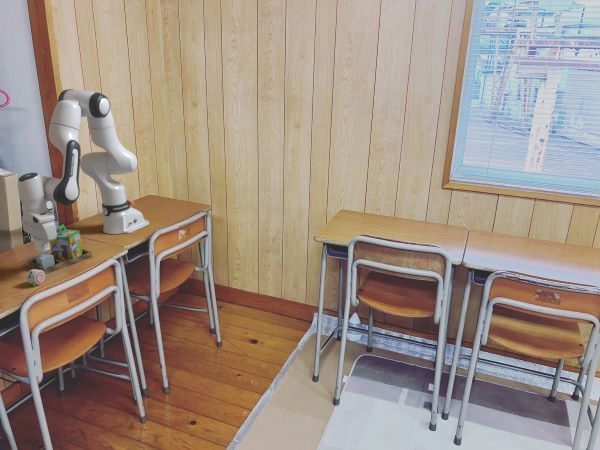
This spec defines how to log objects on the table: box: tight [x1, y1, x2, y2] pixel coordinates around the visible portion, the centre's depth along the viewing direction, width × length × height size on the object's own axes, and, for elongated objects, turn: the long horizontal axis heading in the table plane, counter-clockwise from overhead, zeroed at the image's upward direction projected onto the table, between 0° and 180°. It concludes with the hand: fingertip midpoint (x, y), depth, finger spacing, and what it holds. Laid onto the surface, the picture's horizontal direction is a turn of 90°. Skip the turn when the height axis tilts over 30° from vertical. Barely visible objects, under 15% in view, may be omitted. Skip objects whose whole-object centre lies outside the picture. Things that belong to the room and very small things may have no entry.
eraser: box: [32, 237, 51, 253], centre depth 203 cm, size 4×4×5 cm
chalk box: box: [49, 224, 84, 262], centre depth 211 cm, size 9×9×15 cm
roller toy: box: [26, 268, 46, 287], centre depth 191 cm, size 4×6×6 cm
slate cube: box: [34, 252, 55, 268], centre depth 206 cm, size 5×5×5 cm
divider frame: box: [26, 248, 93, 275], centre depth 211 cm, size 21×14×2 cm, turn 144°
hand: (42, 246), depth 203 cm, fingers closed on eraser, 4 cm apart
